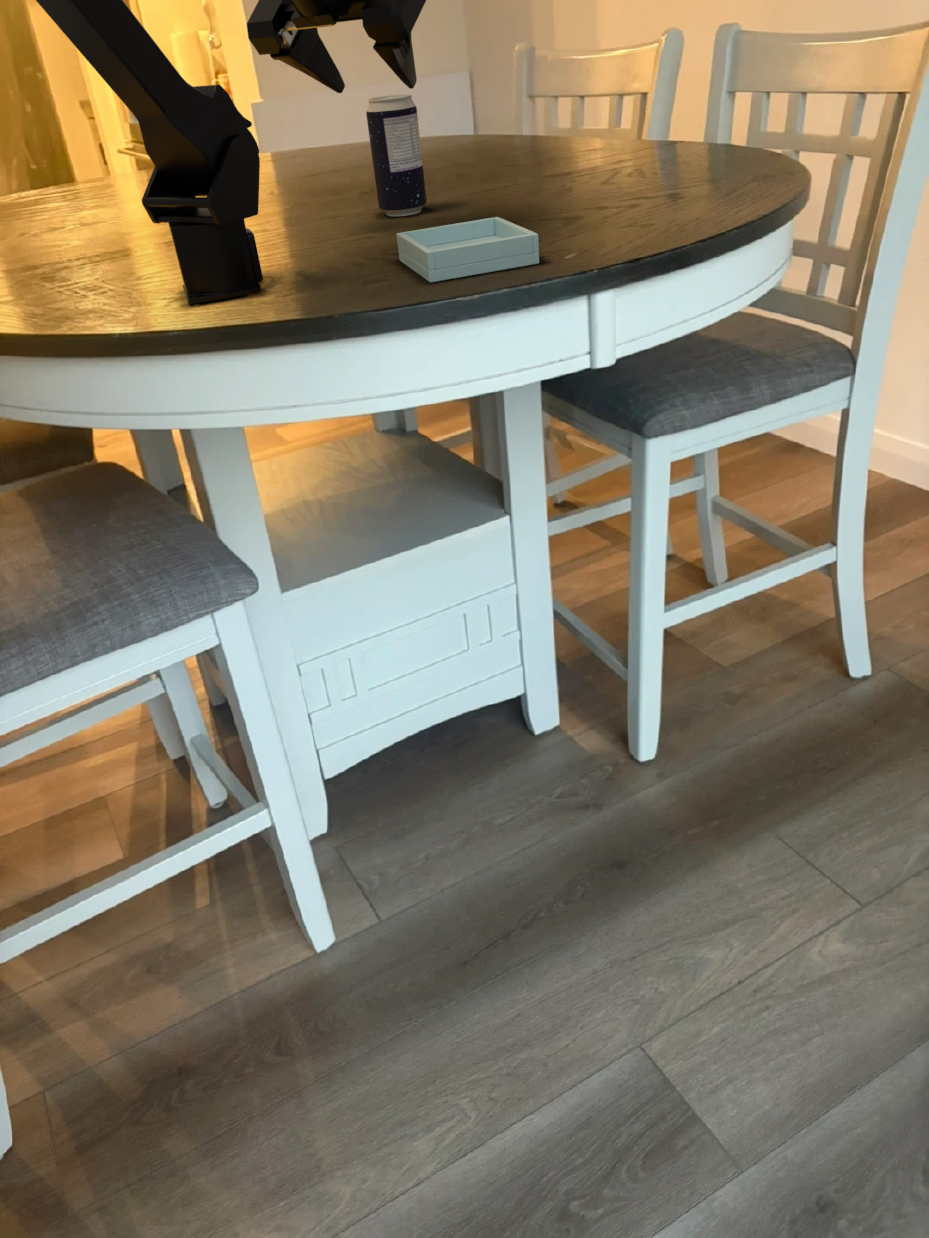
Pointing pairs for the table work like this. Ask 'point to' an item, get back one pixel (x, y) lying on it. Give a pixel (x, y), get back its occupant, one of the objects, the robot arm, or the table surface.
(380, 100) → the beverage can
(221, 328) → the table surface
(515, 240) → the rectangular tray
